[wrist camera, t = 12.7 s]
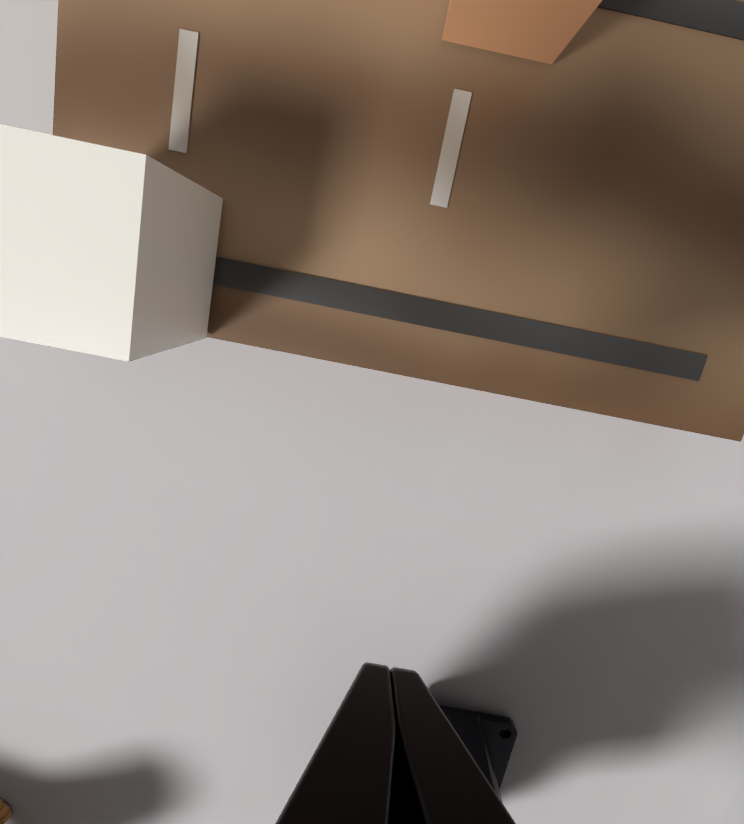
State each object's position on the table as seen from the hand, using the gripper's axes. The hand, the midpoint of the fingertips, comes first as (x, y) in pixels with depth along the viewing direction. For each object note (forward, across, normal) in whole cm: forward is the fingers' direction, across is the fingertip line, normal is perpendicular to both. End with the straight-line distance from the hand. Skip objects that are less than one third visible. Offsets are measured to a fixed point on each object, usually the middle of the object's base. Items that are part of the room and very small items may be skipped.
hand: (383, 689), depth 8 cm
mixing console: (+12, 0, -10) cm, 16 cm away
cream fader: (+9, +7, -6) cm, 13 cm away
